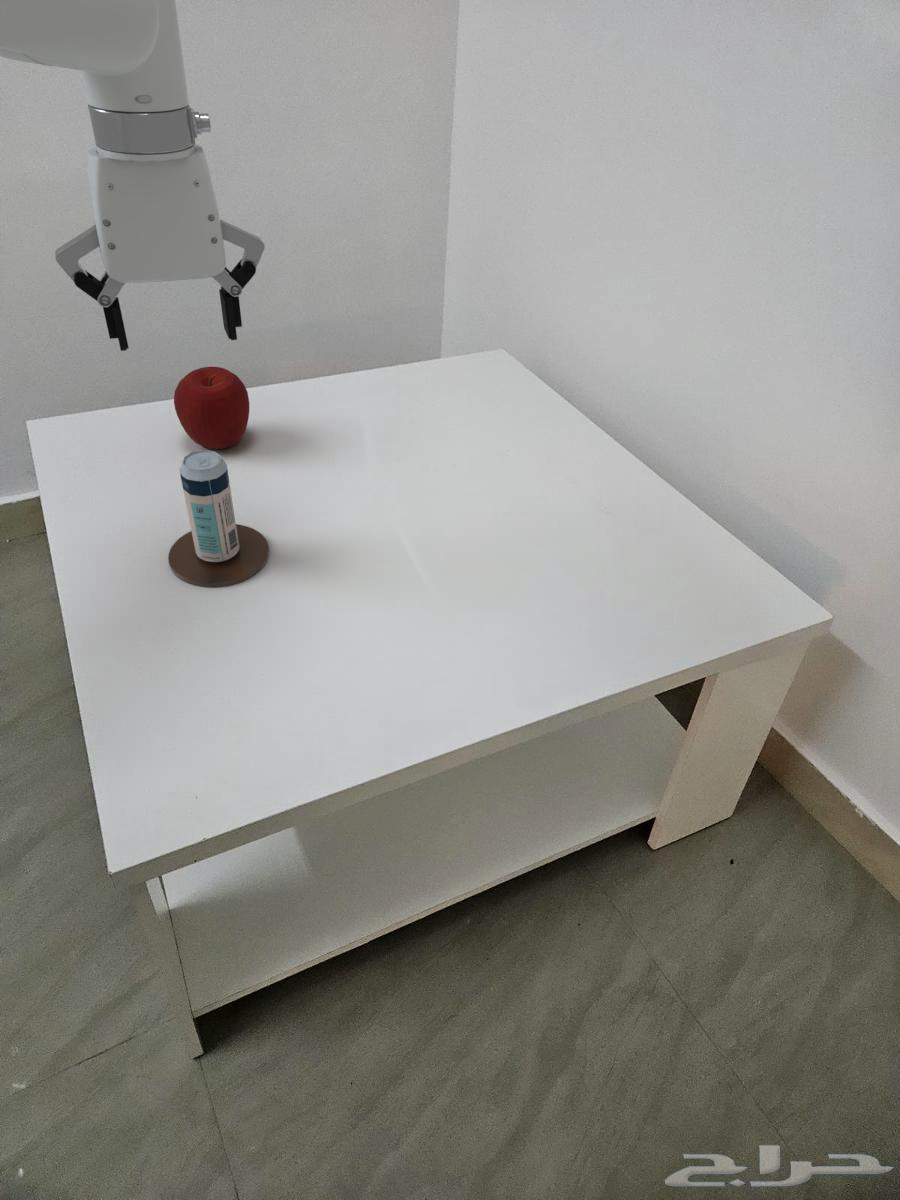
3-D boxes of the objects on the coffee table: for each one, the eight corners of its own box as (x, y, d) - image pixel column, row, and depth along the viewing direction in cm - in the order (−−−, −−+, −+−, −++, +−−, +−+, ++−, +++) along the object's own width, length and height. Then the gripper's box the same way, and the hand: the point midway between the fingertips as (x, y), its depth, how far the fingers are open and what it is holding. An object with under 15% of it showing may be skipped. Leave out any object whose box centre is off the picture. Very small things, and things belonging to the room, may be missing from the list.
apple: (179, 462, 107) (165, 392, 100) (185, 426, 114) (173, 358, 107) (253, 459, 108) (244, 389, 101) (255, 423, 115) (246, 356, 108)
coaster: (176, 596, 87) (175, 591, 86) (163, 537, 94) (162, 532, 94) (278, 575, 90) (278, 571, 90) (258, 520, 98) (258, 516, 97)
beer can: (234, 535, 94) (219, 444, 86) (245, 559, 91) (231, 466, 83) (192, 545, 93) (173, 453, 85) (201, 569, 89) (183, 476, 81)
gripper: (244, 119, 70) (263, 316, 81) (24, 122, 65) (76, 333, 76) (262, 139, 65) (279, 346, 76) (24, 144, 59) (80, 366, 70)
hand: (178, 339), depth 76 cm, fingers open, 9 cm apart
